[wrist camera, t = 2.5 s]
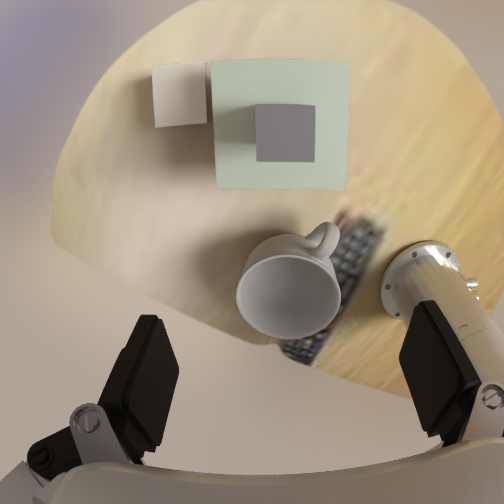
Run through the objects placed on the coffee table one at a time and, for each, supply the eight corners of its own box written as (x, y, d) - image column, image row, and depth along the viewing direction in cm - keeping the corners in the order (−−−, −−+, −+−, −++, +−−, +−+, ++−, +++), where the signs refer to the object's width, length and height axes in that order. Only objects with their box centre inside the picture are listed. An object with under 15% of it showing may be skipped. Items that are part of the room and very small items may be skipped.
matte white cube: (214, 66, 27) (204, 60, 23) (216, 119, 30) (206, 123, 25) (168, 71, 27) (151, 67, 23) (171, 123, 30) (155, 127, 26)
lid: (346, 64, 20) (378, 50, 13) (342, 187, 24) (369, 223, 18) (212, 63, 20) (186, 47, 13) (218, 186, 25) (197, 222, 18)
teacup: (288, 311, 41) (291, 354, 34) (224, 267, 38) (214, 306, 31) (365, 241, 35) (385, 277, 28) (300, 183, 33) (308, 208, 26)
